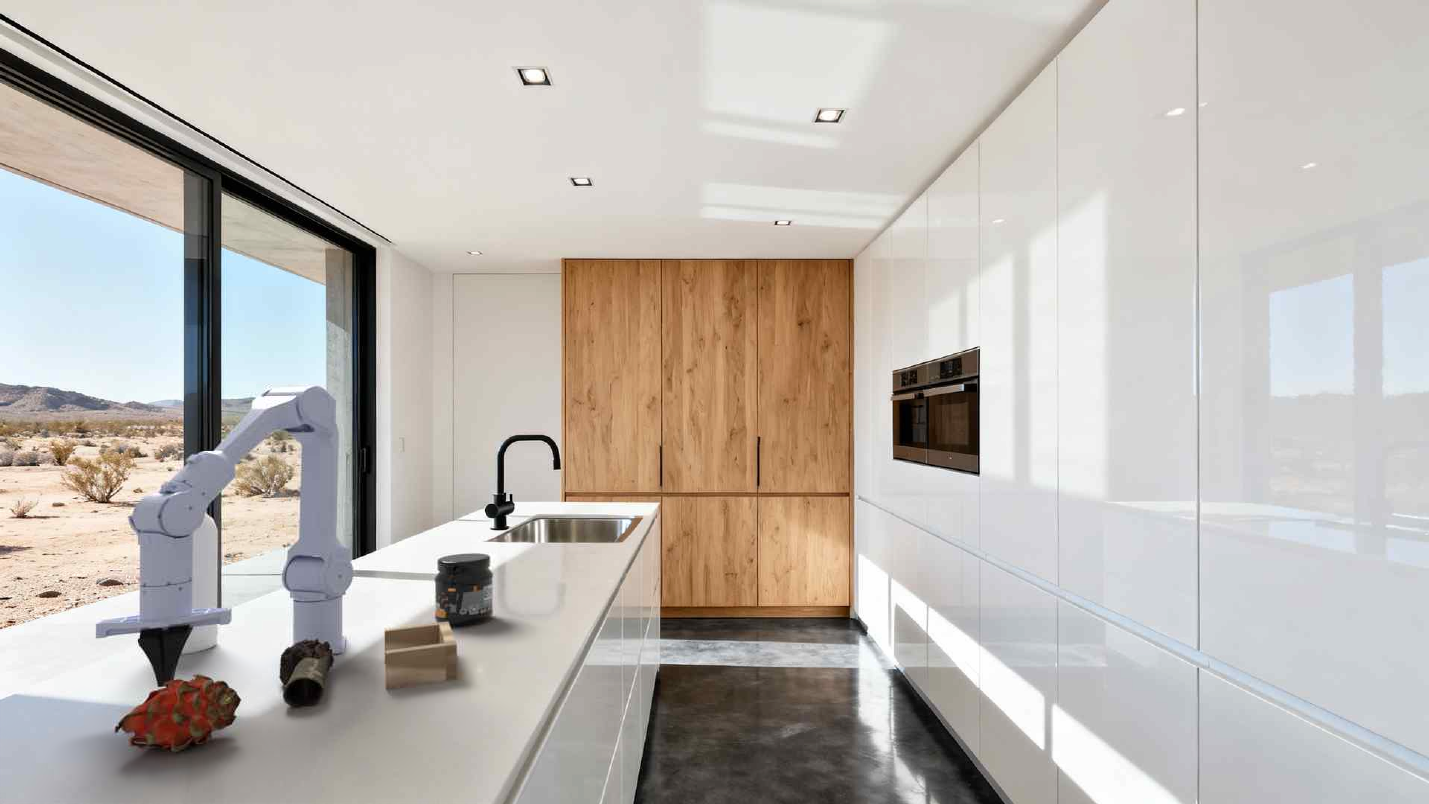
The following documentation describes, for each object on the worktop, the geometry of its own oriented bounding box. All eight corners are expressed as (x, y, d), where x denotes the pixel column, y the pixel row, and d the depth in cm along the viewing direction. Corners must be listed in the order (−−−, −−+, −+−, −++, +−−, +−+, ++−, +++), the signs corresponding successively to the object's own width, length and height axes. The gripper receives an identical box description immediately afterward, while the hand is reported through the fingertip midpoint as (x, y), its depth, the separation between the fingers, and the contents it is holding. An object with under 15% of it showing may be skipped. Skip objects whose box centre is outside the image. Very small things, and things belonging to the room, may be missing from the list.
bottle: (206, 638, 129) (207, 469, 130) (225, 645, 124) (226, 470, 125) (152, 650, 122) (153, 471, 123) (170, 658, 118) (171, 473, 119)
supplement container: (432, 617, 141) (432, 555, 141) (489, 611, 145) (488, 550, 146) (436, 631, 131) (436, 564, 132) (497, 624, 136) (496, 559, 136)
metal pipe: (324, 707, 97) (323, 664, 97) (265, 716, 95) (265, 672, 95) (336, 666, 114) (336, 629, 114) (286, 673, 111) (286, 635, 111)
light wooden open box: (384, 660, 115) (384, 628, 115) (448, 652, 119) (448, 621, 119) (385, 689, 102) (385, 653, 103) (456, 678, 106) (456, 644, 107)
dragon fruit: (249, 748, 88) (124, 789, 82) (245, 690, 94) (128, 724, 88) (237, 707, 83) (103, 746, 77) (234, 648, 89) (109, 681, 83)
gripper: (87, 594, 91) (86, 703, 91) (225, 582, 97) (224, 684, 97) (106, 583, 98) (105, 685, 97) (234, 572, 104) (233, 668, 103)
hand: (165, 684), depth 98 cm, fingers closed
